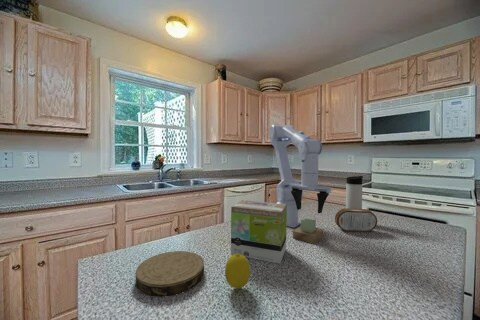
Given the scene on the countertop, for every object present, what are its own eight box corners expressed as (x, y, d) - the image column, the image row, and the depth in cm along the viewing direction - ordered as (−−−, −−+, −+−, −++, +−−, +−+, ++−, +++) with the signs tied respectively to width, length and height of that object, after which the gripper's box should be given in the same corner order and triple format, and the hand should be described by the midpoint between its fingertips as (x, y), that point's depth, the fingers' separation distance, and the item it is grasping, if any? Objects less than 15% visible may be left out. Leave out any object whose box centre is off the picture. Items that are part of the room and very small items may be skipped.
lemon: (224, 282, 52) (224, 248, 52) (248, 281, 53) (248, 247, 52) (225, 297, 47) (225, 259, 46) (251, 296, 47) (251, 258, 47)
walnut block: (292, 239, 79) (292, 231, 79) (301, 233, 85) (302, 225, 85) (315, 245, 74) (315, 236, 74) (323, 237, 80) (323, 229, 80)
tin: (374, 230, 87) (374, 208, 87) (378, 233, 84) (379, 210, 84) (334, 228, 89) (334, 207, 88) (337, 231, 86) (337, 209, 85)
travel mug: (365, 223, 95) (366, 176, 94) (349, 223, 95) (350, 176, 94) (357, 219, 101) (358, 175, 100) (343, 219, 101) (343, 175, 100)
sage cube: (300, 230, 79) (300, 219, 79) (304, 227, 82) (304, 216, 82) (311, 233, 77) (311, 221, 77) (315, 229, 80) (315, 218, 80)
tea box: (229, 256, 65) (229, 206, 65) (241, 243, 75) (241, 199, 74) (281, 265, 60) (281, 210, 60) (286, 249, 70) (287, 202, 69)
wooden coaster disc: (183, 304, 45) (183, 290, 45) (119, 291, 49) (119, 277, 49) (214, 266, 60) (214, 255, 60) (162, 258, 65) (162, 248, 64)
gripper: (285, 172, 81) (285, 209, 81) (327, 175, 72) (326, 217, 72) (294, 171, 86) (293, 206, 87) (333, 173, 77) (332, 212, 78)
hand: (309, 210), depth 80 cm, fingers open, 7 cm apart
